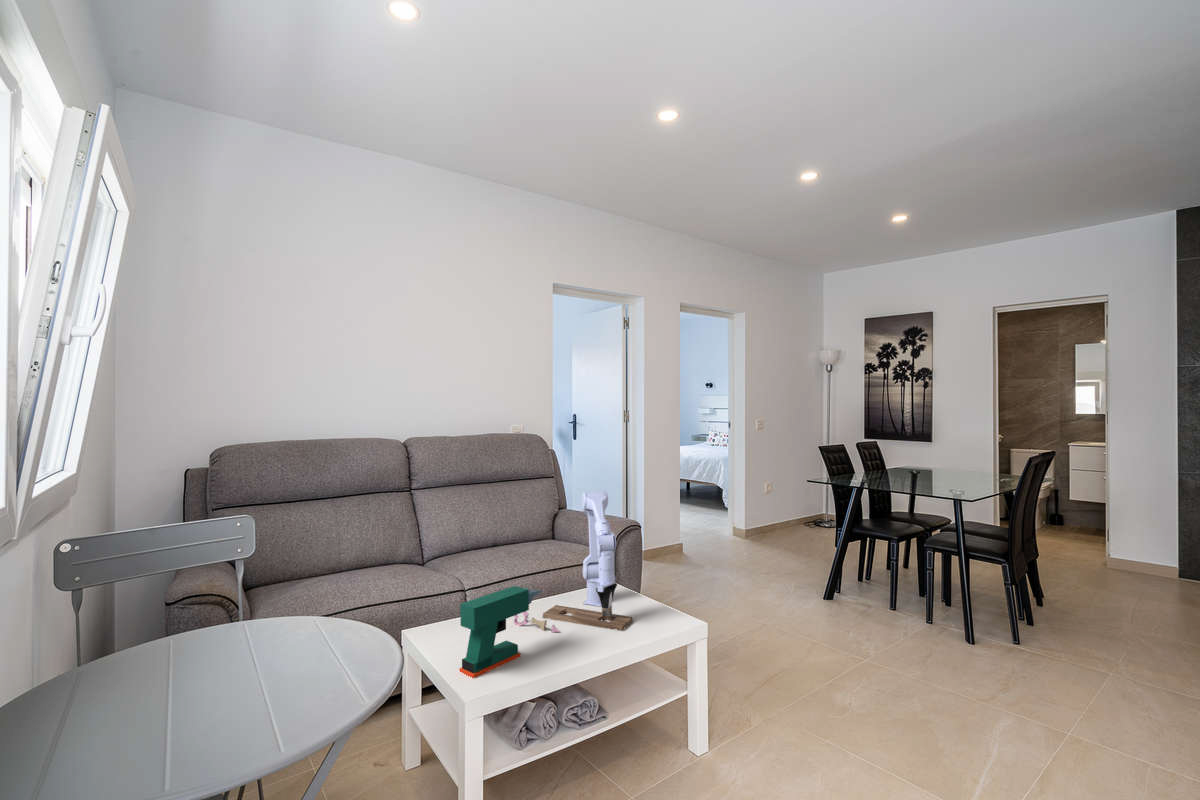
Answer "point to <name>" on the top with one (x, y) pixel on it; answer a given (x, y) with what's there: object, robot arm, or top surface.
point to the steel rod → (608, 610)
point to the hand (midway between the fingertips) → (606, 605)
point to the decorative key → (535, 622)
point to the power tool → (491, 628)
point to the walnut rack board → (587, 617)
